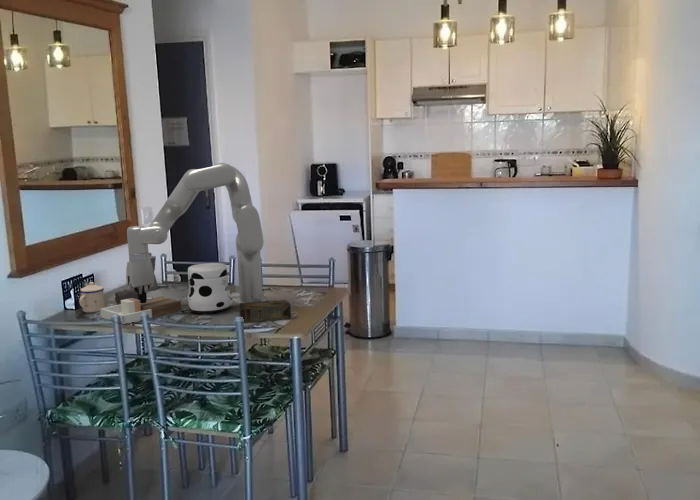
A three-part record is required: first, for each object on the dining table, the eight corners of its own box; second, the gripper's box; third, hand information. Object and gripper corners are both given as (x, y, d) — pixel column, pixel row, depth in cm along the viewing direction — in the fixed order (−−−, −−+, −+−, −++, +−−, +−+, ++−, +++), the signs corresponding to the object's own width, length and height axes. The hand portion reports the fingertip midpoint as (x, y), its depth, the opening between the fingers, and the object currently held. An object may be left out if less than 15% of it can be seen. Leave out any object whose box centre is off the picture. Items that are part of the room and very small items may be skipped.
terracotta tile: (139, 300, 257) (134, 301, 256) (141, 314, 258) (135, 316, 256) (132, 297, 261) (126, 299, 260) (133, 312, 262) (127, 313, 261)
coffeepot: (162, 289, 305) (159, 251, 302) (141, 292, 300) (138, 254, 297) (153, 284, 318) (150, 247, 315) (133, 286, 313) (130, 249, 310)
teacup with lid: (92, 306, 276) (89, 279, 274) (110, 307, 273) (107, 280, 272) (72, 314, 265) (69, 285, 263) (90, 315, 262) (87, 286, 260)
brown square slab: (181, 309, 267) (180, 301, 266) (150, 317, 257) (149, 308, 256) (162, 304, 276) (162, 296, 276) (132, 311, 266) (131, 303, 266)
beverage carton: (292, 319, 249) (291, 302, 248) (241, 324, 244) (240, 306, 243) (288, 314, 257) (288, 297, 256) (239, 318, 252) (238, 302, 251)
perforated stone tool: (136, 300, 286) (135, 284, 285) (146, 301, 284) (144, 285, 283) (111, 308, 272) (110, 292, 271) (121, 309, 270) (119, 293, 269)
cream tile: (134, 301, 255) (128, 302, 254) (135, 316, 256) (129, 317, 255) (126, 299, 260) (120, 300, 258) (127, 313, 261) (121, 315, 259)
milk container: (240, 308, 267) (238, 264, 265) (209, 318, 253) (206, 272, 250) (210, 303, 277) (207, 261, 274) (179, 312, 263) (175, 268, 260)
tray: (152, 318, 255) (151, 309, 255) (123, 325, 247) (122, 315, 246) (128, 311, 267) (128, 302, 267) (100, 317, 259) (99, 308, 258)
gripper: (151, 253, 267) (154, 297, 270) (116, 259, 256) (120, 304, 259) (160, 255, 261) (164, 300, 264) (126, 261, 251) (130, 307, 254)
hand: (142, 302), depth 262 cm, fingers closed
